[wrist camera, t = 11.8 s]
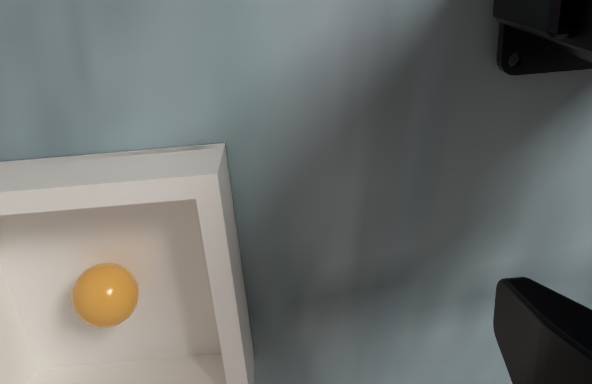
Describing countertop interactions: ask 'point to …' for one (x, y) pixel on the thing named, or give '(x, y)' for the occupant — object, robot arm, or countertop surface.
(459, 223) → the countertop surface
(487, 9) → the countertop surface
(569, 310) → the robot arm
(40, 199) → the dish
